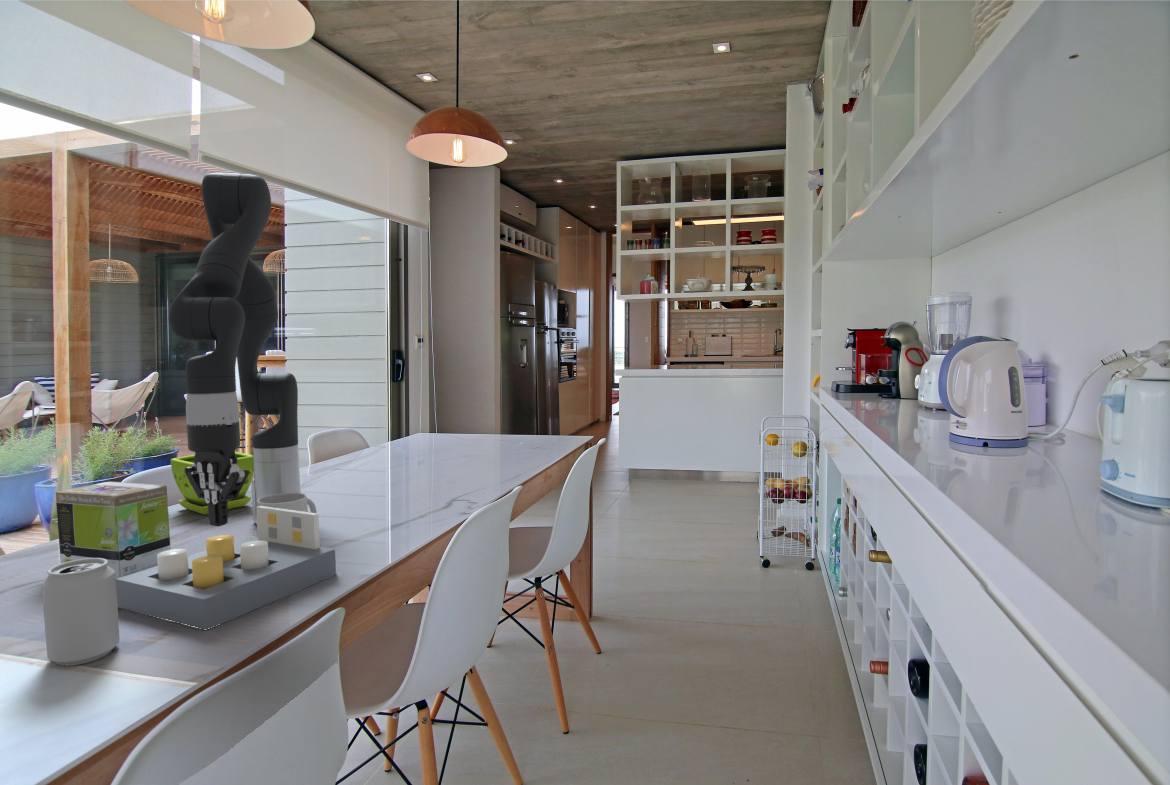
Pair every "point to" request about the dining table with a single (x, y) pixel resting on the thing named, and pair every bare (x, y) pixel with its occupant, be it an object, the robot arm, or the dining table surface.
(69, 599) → the can
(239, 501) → the flower pot
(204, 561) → the amber button
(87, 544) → the tea box
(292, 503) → the mug
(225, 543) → the amber button
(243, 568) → the cream button
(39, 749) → the dining table surface
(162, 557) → the cream button
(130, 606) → the console
